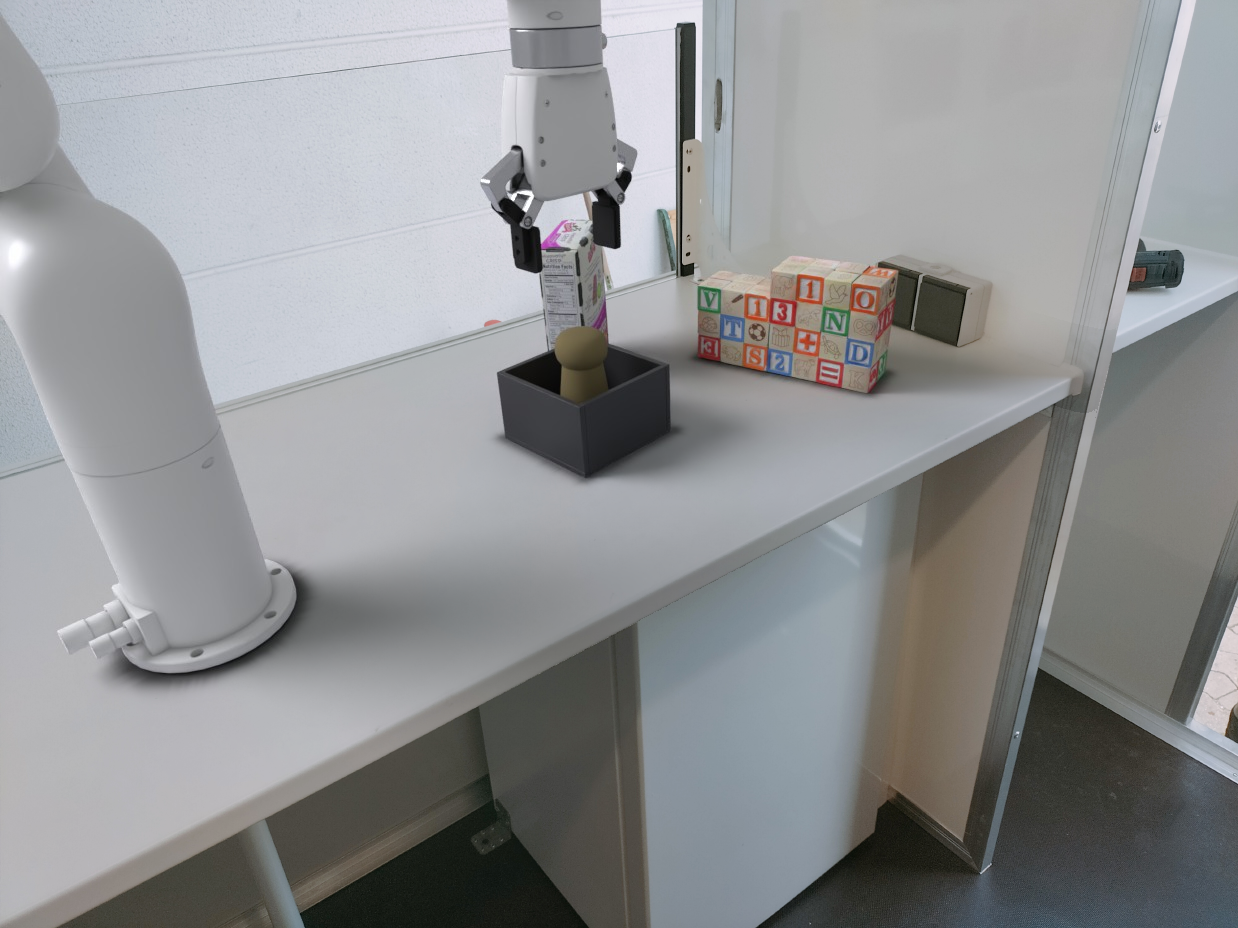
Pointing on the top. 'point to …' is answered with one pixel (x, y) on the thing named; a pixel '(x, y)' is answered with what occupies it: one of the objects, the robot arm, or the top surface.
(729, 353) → the stack of blocks
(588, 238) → the candy bar box
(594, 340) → the cork
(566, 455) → the basket
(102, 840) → the top surface
